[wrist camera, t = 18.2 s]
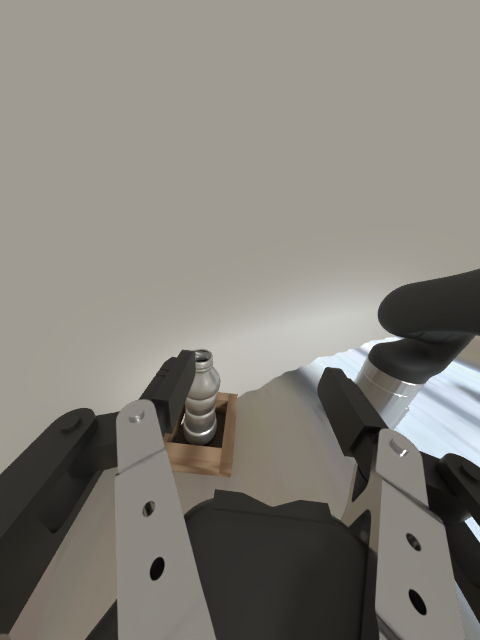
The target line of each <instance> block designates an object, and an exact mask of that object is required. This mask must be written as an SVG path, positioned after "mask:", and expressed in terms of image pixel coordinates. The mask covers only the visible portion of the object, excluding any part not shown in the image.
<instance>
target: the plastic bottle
mask: <svg viewBox="0 0 480 640" xmlns="http://www.w3.org/2000/svg"><path fill="white" fill-rule="evenodd" d="M193 351H195V359H196V373H195V378H194V381H193V384H192V386H191V389H190V391H189V394H188V396H187V399H186V401H185V408H186V412H185V419H184V424H183V433H184V435H185V438H186V440H187V441H188V442H189V443H190V444H192V445H197V446H202V445H205V444H207V443H209V442H210V441H211V440H212V439H213V437H214V435H215V432H216V429H217V419H216V415H215V404H216V398H217V394H218V390H219V386H220V377H219V374H218V372H217V371H216V370H215V368H214V367H213V361H212V353H211V352H210V351H208V350H205V349H196V350H193Z"/></svg>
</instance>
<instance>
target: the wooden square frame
mask: <svg viewBox="0 0 480 640" xmlns="http://www.w3.org/2000/svg"><path fill="white" fill-rule="evenodd" d="M236 408H237V394H228V393H220V392H218V394H217V398H216V404H215V413H220V414H226V420H225V428H224V435H223V443H222V448H215V447H206V446H197V445H188V444H179V443H174V441H175V438H176V435H177V433H178V430H179V427H180V425H181V422H182V419H183V416H184V414H185V411H186V408H185V404H184V406H183V409H182V411H181V413H180V416H179V418H178V421H177V423H176V426H175V428H174V431H173V433H172V434H167V433H165V435H164V438H163V441H164V445H165V448H166V450H167V454H168V457H169V461H170V465H171V469H172V471H177V472H186V473H195V474H204V475H213V476H222V477H230V476H231V469H232V463H233V449H234V435H235V422H236Z"/></svg>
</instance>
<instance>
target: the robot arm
mask: <svg viewBox="0 0 480 640" xmlns="http://www.w3.org/2000/svg"><path fill="white" fill-rule="evenodd" d="M378 319H379V322H380V324H381V326H382V327H383V328H384V329H385V330H387V331H388V332H389V333H391V334H394V335H396V336H399V337H404V339H402V340H399V341H394V342H386V343H379V344H376V345H375V346H373V348H372V349H371V351H370V353H369V355H368V357H367V358H366V360H365V362H364V364H363V366H362V368H361V370H360V372H359V374H358V376H357V378H356V379H355V381H354V382H353V381H352V380H351V379H350V378H347V376H346V375H345V374H344V372H343V371H342V370H341V369H339V368H331V367H326V368H325V370H324V372H323V375H322V377H321V379H320V382H319V384H318V396H319V398H320V401H321V403H322V405H323V408H324V410H325V412H326V415H327V417H328V419H329V422H330V424H331V426H332V429H333V431H334V433H335V436H336V438H337V440H338V443H339V445H340V447H341V450H342V452H343V454H344V456H349V457H354V458H355V460H356V462H357V463H356V464H355V466H354V470H353V475H352V481H351V486H350V491H349V496H348V501H347V506H346V509H345V511H344V513H343V515H342V518H341V520H339V519H337V518H336V517H334V516H332V515H331V513H330V509H329V506H328V503H321V502H313V501H305V500H298V501H294V502H290V503H286V504H283V505H279V506H275V507H271V506H268V505H266V504H264V503H262V502H260V501H258V500H256V499H254V498H252V497H250V496H248V495H246V494H244V493H240V492H232V491H224V490H216V489H215V493H214V498H213V499H209V500H206V501H204V502H201V503H199V504H198V505H196V506H194V507H193V508H192V509H190V510H189V511H188V512H187V513H186V514H185V515H184V516H183V512H182V508H181V504H180V500H179V496H178V493H177V489H176V485H175V481H174V477H173V473H172V469H171V465H170V461H169V457H168V454H167V450H166V448H165V445H164V441H163V438H164V435H165V433H167V434H172V433H173V431H174V428H175V426H176V423H177V421H178V418H179V416H180V413H181V411H182V409H183V406H184V404H185V401H186V399H187V396H188V394H189V391H190V389H191V386H192V384H193V381H194V378H195V373H196V359H195V351H190V350H182V351H181V352H180V354H179V355H178V357H177V358H176V357H171V358H170V359H168V360H167V361H166V362H164V364H163V365H162V367H161V368H160V370H159V371H158V372H157V374H156V376H155V377H154V378H153V380H152V381H151V383H150V384H149V385H148V387H147V388H146V390H145V391H144V393H143V394H142V396H141V397H140V398H139V400H137V401H134V402H131V403H129V404H128V405H126V406H125V407H124V408H123V409H122V410H121V411H119V412H115V413H109V414H104V415H98V416H95V414H94V412H93V411H92V410H91V409H88V408H80V409H76V410H73V411H70V412H68V413H66V414H64V415H62V416H61V417H59V418H58V419H57V420H55V421H54V422H53V423H52V424H51V425H50V426H49V427H48V428H47V429H46V430H45V431H44V432H43V433H42V434H41V435H40V436H39V437H38V438H37V439H36V440H35V441H34V442H33V443H32V444H31V445H30V446H29V447H28V448H27V449H26V450H25V451H24V452H23V453H22V454H21V455H20V456H19V457H18V458H17V459H16V460H15V461H14V462H13V463H12V464H11V465H10V466H8V468H7V469H6V470H4V471H3V473H1V474H0V640H11V639H10V637H9V635H8V634H9V632H10V630H11V629H12V627H13V625H14V623H15V622H16V620H17V618H18V617H19V615H20V613H21V611H22V610H23V608H24V606H25V604H26V603H27V601H28V599H29V598H30V596H31V594H32V592H33V591H34V589H35V587H36V586H37V584H38V582H39V580H40V579H41V577H42V575H43V573H44V572H45V570H46V568H47V567H48V565H49V563H50V561H51V560H52V558H53V556H54V555H55V553H56V551H57V550H58V548H59V546H60V544H61V543H62V541H63V539H64V537H65V536H66V534H67V532H68V531H69V529H70V527H71V525H72V524H73V522H74V520H75V519H76V517H77V515H78V513H79V512H80V510H81V508H82V507H83V505H84V503H85V501H86V500H87V498H88V496H89V495H90V493H91V491H92V489H93V488H94V486H95V484H96V483H97V481H98V479H99V477H100V476H101V474H102V472H103V470H106V469H110V468H114V467H118V473H117V474H116V476H115V523H116V565H117V599H116V601H115V602H114V603H113V605H112V606H111V607H110V608H109V610H108V611H107V612H106V613H105V615H104V616H103V617H102V619H101V620H100V621H99V622H98V624H97V625H96V626H95V627H94V629H93V630H92V631H91V633H90V634H89V635H88V636H87V638H86V639H85V640H465V635H464V630H463V624H462V619H461V613H460V608H459V602H458V597H457V591H456V586H455V581H456V582H457V584H458V586H459V588H460V589H461V591H462V593H463V595H464V597H465V598H466V600H467V602H468V604H469V605H470V607H471V609H472V611H473V612H474V614H475V616H476V618H477V620H478V621H479V623H480V542H479V541H478V540H477V538H476V537H475V535H474V534H473V533H472V531H471V530H470V528H469V527H468V526H467V524H466V523H465V520H467V519H468V518H470V517H473V518H474V520H475V521H476V522H477V524H478V525H479V526H480V468H479V467H478V466H477V465H475V464H474V463H472V462H471V461H469V460H467V459H465V458H464V457H461V456H459V455H456V454H452V453H448V454H446V455H445V456H443V457H442V458H441V459H439V458H436V457H434V456H431V455H429V454H426V453H424V452H421V451H419V450H418V449H417V448H416V447H415V445H414V444H413V443H412V442H411V441H410V440H408V439H407V438H406V437H405V436H403V435H402V434H400V433H398V432H396V431H394V429H395V427H396V426H397V425H398V424H399V422H400V421H401V420H402V418H403V417H404V416H405V415H406V413H407V412H408V411H409V408H408V405H409V404H410V403H411V401H412V400H413V399H414V398H415V396H416V395H417V393H418V392H419V391H420V390H421V388H422V387H423V386H424V384H425V383H426V382H427V381H428V379H429V378H430V377H432V376H435V375H437V374H439V373H441V372H442V371H443V370H444V369H445V368H446V367H447V366H448V365H449V364H450V363H451V362H452V361H453V360H454V359H455V358H456V356H457V355H458V354H459V353H460V352H461V351H462V350H463V349H464V348H465V347H466V346H467V345H468V344H469V343H470V341H471V340H472V339H473V338H474V337H475V336H476V335H478V336H480V269H477V270H473V271H470V272H466V273H462V274H458V275H453V276H449V277H444V278H438V279H433V280H428V281H423V282H417V283H411V284H407V285H404V286H401V287H399V288H397V289H395V290H394V291H392V292H391V293H390V294H389V295H387V296H386V297H385V299H384V300H383V301H382V302H381V304H380V306H379V309H378ZM454 579H455V580H454Z"/></svg>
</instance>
